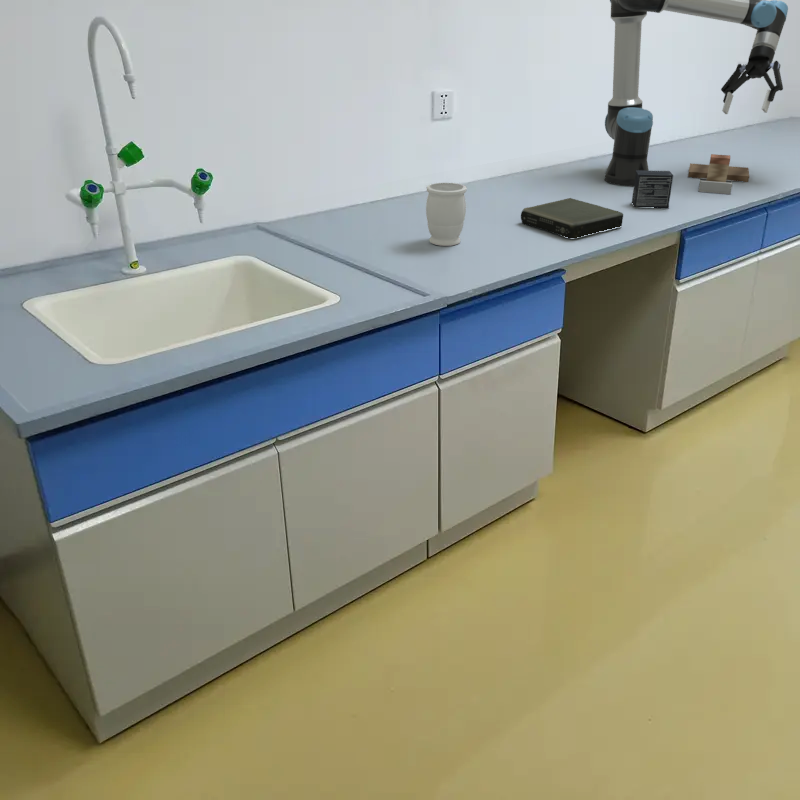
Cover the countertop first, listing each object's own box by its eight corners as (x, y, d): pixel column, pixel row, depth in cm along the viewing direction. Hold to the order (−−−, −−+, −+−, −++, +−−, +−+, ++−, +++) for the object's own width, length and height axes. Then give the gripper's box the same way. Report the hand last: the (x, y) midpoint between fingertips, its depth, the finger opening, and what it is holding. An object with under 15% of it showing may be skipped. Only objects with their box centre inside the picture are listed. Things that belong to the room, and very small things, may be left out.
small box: (664, 203, 256) (670, 170, 251) (668, 209, 250) (674, 175, 245) (630, 202, 257) (635, 169, 252) (634, 208, 251) (638, 174, 246)
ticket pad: (704, 190, 270) (710, 157, 265) (705, 187, 274) (711, 154, 269) (723, 192, 268) (730, 158, 263) (723, 188, 273) (730, 155, 267)
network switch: (627, 227, 235) (630, 210, 232) (580, 245, 220) (582, 226, 218) (561, 211, 249) (563, 195, 247) (513, 226, 235) (514, 209, 233)
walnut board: (687, 177, 286) (688, 171, 285) (689, 168, 298) (690, 163, 297) (748, 182, 281) (749, 176, 280) (747, 173, 292) (748, 167, 291)
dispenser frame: (698, 191, 269) (700, 181, 267) (699, 185, 277) (700, 174, 275) (730, 194, 266) (732, 183, 264) (730, 187, 274) (732, 177, 272)
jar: (462, 236, 226) (464, 181, 218) (466, 247, 217) (468, 191, 209) (424, 236, 225) (425, 182, 218) (426, 248, 216) (427, 191, 209)
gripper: (805, 52, 262) (785, 115, 263) (732, 58, 280) (713, 117, 281) (797, 40, 257) (777, 104, 257) (723, 48, 275) (704, 108, 275)
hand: (744, 111), depth 269 cm, fingers open, 13 cm apart
